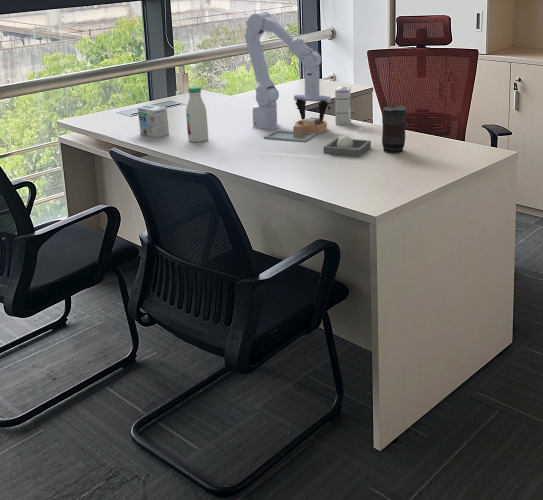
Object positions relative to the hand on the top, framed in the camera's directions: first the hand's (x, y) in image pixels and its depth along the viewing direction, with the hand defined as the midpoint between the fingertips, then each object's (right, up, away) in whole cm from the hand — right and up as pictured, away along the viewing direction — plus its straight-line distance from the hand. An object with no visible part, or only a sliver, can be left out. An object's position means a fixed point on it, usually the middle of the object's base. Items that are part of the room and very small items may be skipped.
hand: (312, 119), depth 265 cm
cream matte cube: (-1, -4, -1) cm, 5 cm away
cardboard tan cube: (-5, -8, -8) cm, 13 cm away
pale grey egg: (+11, -17, -28) cm, 34 cm away
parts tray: (-9, -9, -8) cm, 15 cm away
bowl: (0, -4, 0) cm, 4 cm away
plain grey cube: (0, -2, 0) cm, 2 cm away
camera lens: (+26, -17, -29) cm, 43 cm away
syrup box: (+13, 0, +10) cm, 16 cm away
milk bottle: (-44, -9, -7) cm, 46 cm away
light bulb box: (-63, -5, +5) cm, 63 cm away
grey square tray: (+11, -16, -28) cm, 34 cm away
